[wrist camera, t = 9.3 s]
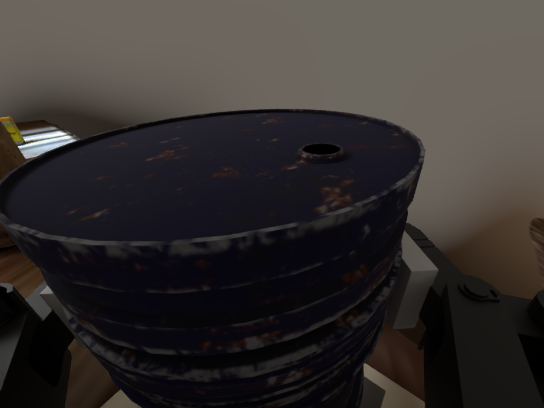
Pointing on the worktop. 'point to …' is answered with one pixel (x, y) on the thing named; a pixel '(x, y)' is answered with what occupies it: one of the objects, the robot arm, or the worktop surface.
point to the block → (8, 170)
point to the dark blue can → (224, 251)
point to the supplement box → (12, 130)
